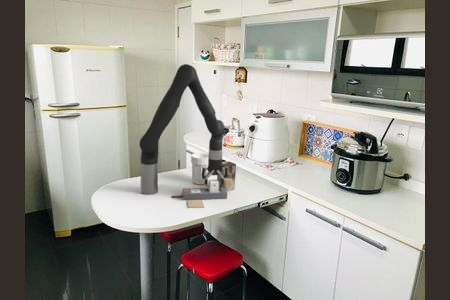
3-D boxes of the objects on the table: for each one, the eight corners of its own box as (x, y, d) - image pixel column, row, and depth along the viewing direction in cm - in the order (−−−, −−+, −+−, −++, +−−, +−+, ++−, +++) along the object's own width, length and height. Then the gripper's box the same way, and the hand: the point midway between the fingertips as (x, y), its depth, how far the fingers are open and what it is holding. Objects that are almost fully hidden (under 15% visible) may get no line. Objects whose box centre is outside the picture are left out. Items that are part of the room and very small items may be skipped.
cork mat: (188, 208, 165) (188, 207, 165) (187, 201, 173) (187, 200, 172) (204, 207, 167) (204, 206, 167) (202, 200, 174) (202, 199, 174)
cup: (206, 186, 194) (207, 159, 189) (188, 184, 196) (188, 157, 191) (210, 180, 204) (211, 154, 200) (193, 178, 206) (194, 152, 202)
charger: (209, 194, 178) (210, 182, 176) (208, 191, 182) (209, 179, 180) (218, 194, 179) (218, 182, 177) (216, 191, 183) (217, 179, 181)
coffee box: (228, 186, 197) (229, 161, 193) (234, 189, 192) (236, 163, 188) (216, 189, 191) (217, 163, 187) (222, 192, 186) (224, 166, 182)
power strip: (172, 200, 172) (172, 193, 171) (171, 194, 180) (171, 187, 179) (226, 198, 179) (227, 192, 177) (224, 193, 186) (224, 186, 185)
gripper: (203, 159, 170) (202, 188, 174) (229, 159, 173) (228, 187, 177) (201, 155, 177) (200, 183, 181) (226, 155, 180) (225, 182, 184)
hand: (214, 185), depth 179 cm, fingers open, 8 cm apart
